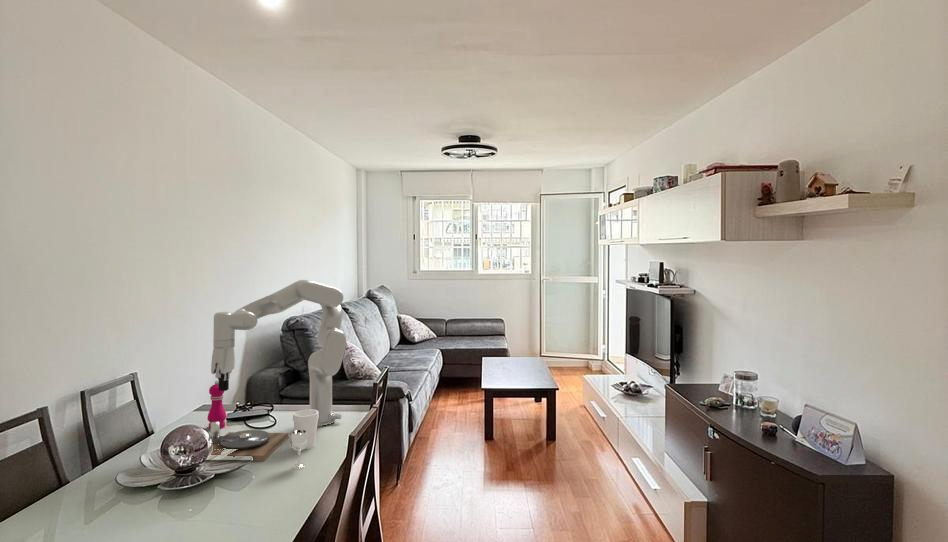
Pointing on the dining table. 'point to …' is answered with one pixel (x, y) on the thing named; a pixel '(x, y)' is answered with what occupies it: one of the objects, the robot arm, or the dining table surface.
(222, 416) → the pepper mill
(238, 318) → the robot arm
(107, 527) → the dining table surface
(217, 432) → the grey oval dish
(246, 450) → the brown flat board
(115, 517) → the dining table surface
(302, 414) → the foam cup
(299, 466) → the wineglass
